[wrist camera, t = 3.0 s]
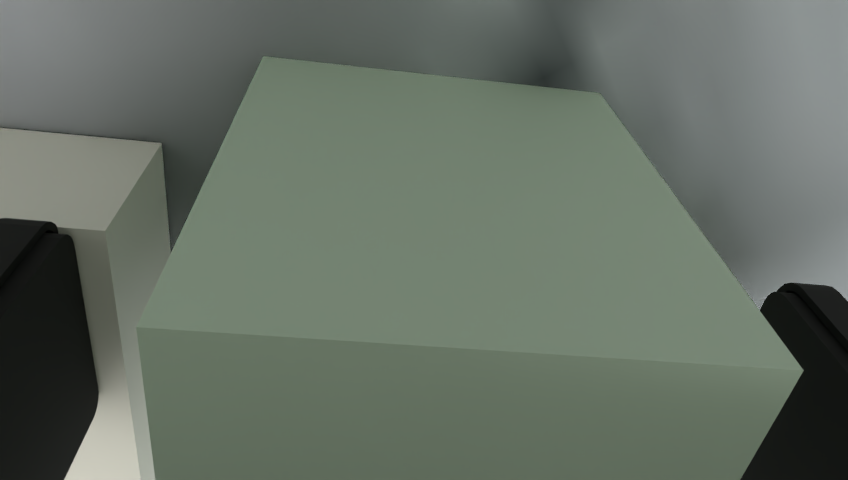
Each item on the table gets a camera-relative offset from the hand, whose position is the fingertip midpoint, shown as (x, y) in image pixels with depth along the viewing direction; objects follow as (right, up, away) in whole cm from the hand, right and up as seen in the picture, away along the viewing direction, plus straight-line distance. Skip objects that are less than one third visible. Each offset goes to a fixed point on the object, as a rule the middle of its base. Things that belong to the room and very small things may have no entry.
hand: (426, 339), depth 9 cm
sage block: (0, +2, +2) cm, 3 cm away
